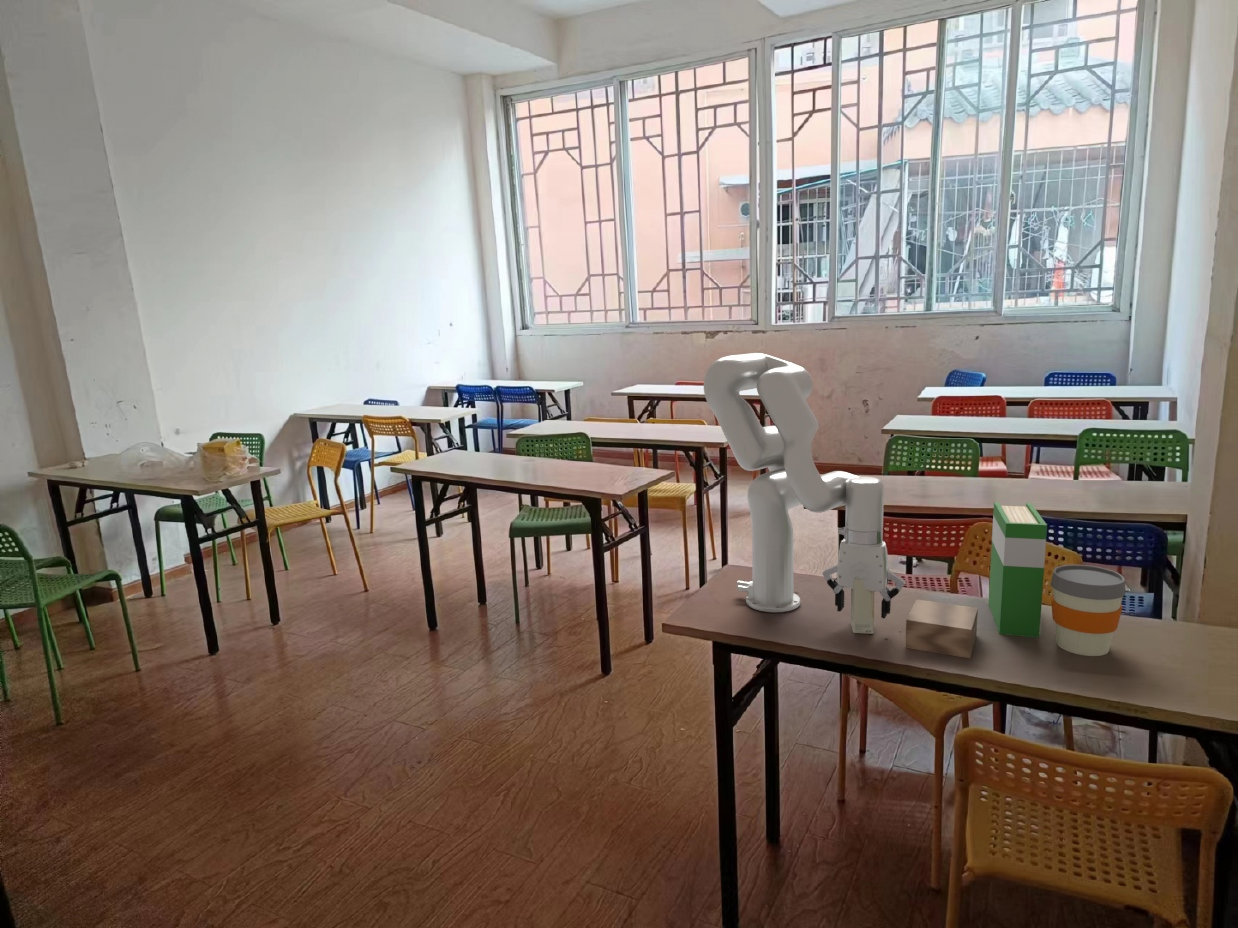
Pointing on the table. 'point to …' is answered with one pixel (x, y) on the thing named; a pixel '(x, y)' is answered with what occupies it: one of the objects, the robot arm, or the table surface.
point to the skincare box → (862, 608)
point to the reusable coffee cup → (1086, 607)
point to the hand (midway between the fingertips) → (862, 612)
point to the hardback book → (1017, 569)
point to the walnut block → (941, 628)
